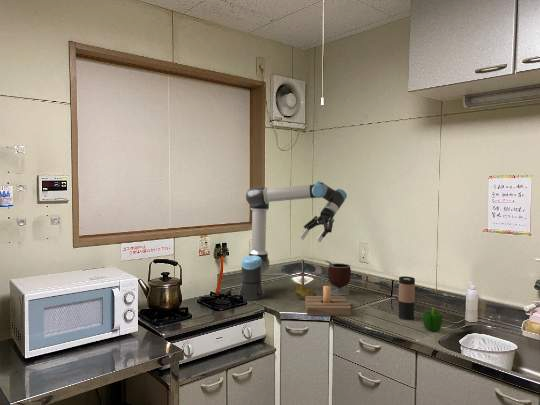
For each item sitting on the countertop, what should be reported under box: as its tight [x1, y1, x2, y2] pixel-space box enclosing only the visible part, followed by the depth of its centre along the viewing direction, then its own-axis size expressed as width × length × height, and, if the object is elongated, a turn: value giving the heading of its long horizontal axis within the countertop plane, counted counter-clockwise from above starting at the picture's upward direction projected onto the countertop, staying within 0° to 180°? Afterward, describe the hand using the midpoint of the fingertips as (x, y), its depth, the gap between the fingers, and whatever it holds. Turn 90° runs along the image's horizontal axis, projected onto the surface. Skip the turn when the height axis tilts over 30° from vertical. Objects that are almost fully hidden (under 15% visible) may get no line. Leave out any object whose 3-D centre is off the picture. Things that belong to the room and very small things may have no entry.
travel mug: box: [397, 276, 416, 321], centre depth 207 cm, size 8×8×20 cm
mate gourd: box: [325, 260, 352, 296], centre depth 255 cm, size 16×14×20 cm
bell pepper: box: [422, 306, 443, 332], centre depth 190 cm, size 8×8×10 cm
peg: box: [322, 285, 332, 303], centre depth 221 cm, size 4×4×12 cm
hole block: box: [304, 295, 352, 316], centre depth 221 cm, size 22×22×4 cm
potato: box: [293, 283, 317, 301], centre depth 241 cm, size 8×13×8 cm, turn 43°
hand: (309, 239), depth 231 cm, fingers open, 13 cm apart
